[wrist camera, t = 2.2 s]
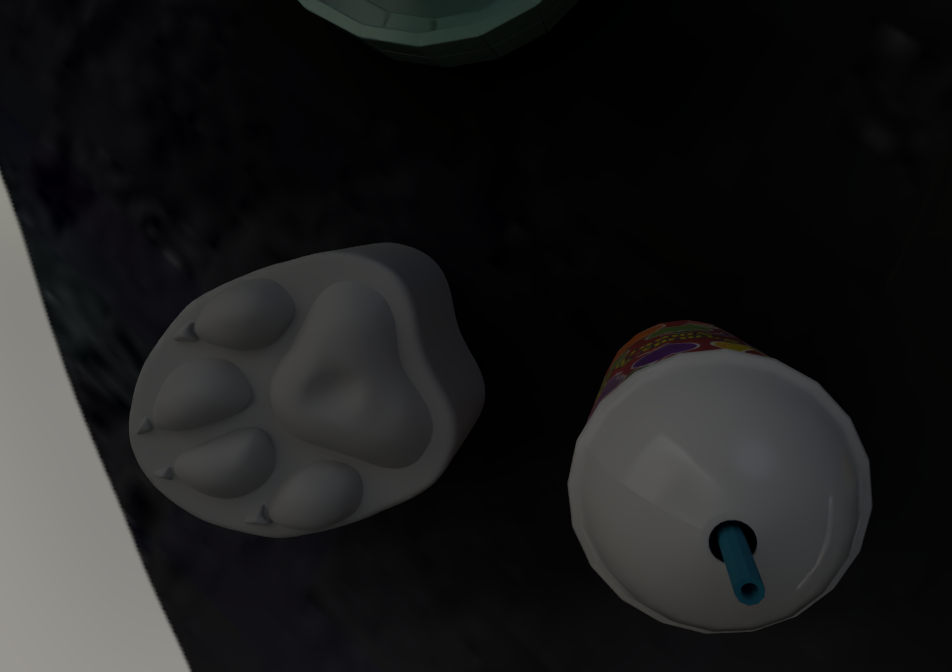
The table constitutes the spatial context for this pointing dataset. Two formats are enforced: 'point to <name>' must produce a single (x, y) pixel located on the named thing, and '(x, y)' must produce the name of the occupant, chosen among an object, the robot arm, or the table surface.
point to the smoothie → (716, 482)
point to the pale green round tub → (442, 26)
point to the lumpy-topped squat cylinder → (308, 393)
